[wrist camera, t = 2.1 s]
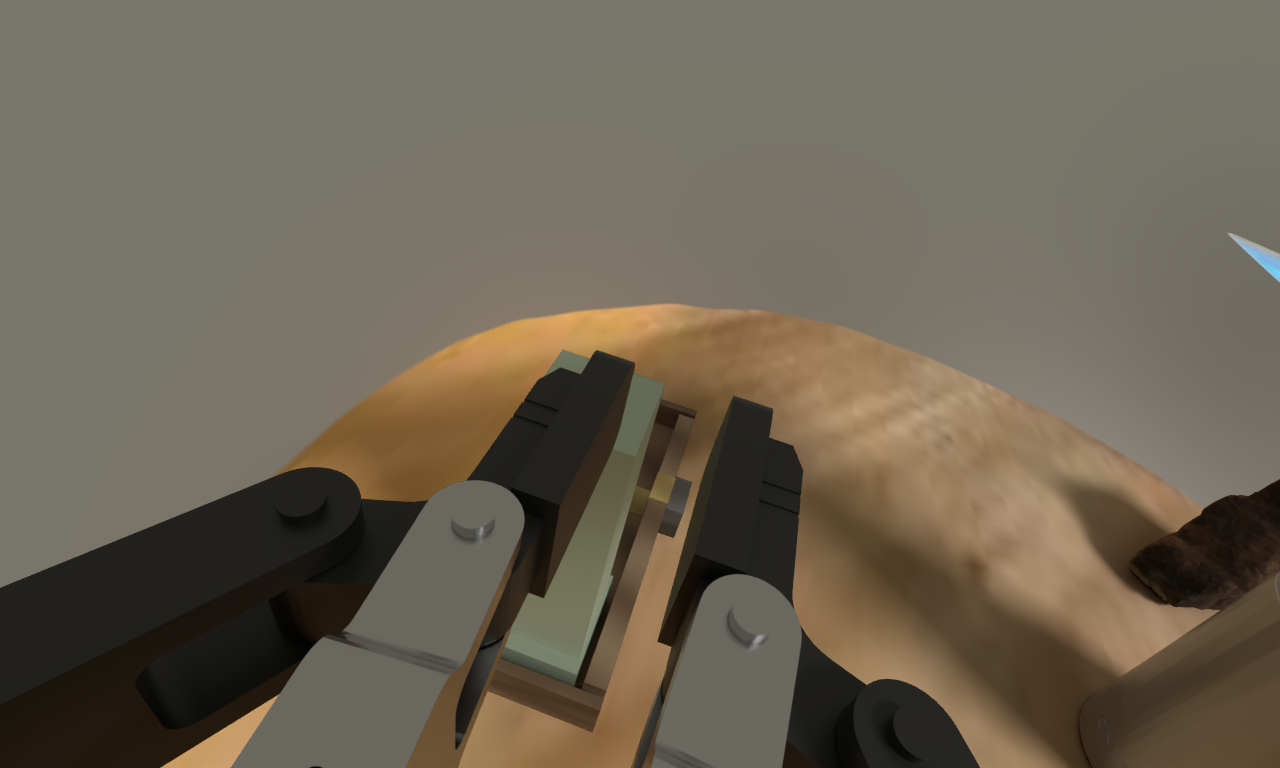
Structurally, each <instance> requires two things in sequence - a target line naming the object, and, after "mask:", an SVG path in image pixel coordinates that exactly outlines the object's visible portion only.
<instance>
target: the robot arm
mask: <svg viewBox="0 0 1280 768" xmlns="http://www.w3.org/2000/svg"><path fill="white" fill-rule="evenodd" d="M634 368H635V363H634V362H631V361H628V360H625V359H622V358H619V357H616V356H613V355H610V354H607V353H604V352H601V351H598V350H597V351H595V352H594V354H593V355H592V357H591V359H590V360H589V362H588V363H587V365H586V367H585V368H584V370H583V372H582V373H581V374H579V373H576V372H573V371H570V370H567V369H564V368H561V367H560V368H558V369H556V370H555V371H553V372H551V373H549V374H548V375H546V376H544V377H542V378H541V379H539V380H538V381H537V382H536V384H535V385H534V386H533V388H532V389H531V391H530V392H529V394H528V395H527V396H526V398H525V400H524V403H523V402H522V403H521V405H520V406H519V408H518V409H517V411H516V412H515V413H514V416H513V418H511V419H510V420H509V422H508V423H507V425H506V426H505V427H504V429H503V430H502V432H501V433H500V435H499V436H498V437H497V439H496V440H495V442H494V443H493V444H492V446H491V447H490V449H489V450H488V452H487V453H486V454H485V456H484V457H483V459H482V460H481V461H480V463H479V464H478V466H477V467H476V469H475V470H474V471H473V473H472V474H471V476H470V477H469V478H468V479H467V480H466V481H463V482H458V483H455V484H452V485H449V486H447V487H445V488H443V489H442V490H440V491H439V492H437V493H436V494H435V495H433V496H432V497H431V498H430V499H429V500H426V501H418V502H400V501H385V500H369V499H361V495H360V491H359V489H358V487H357V485H356V484H355V482H354V481H353V480H352V479H351V478H349V477H348V476H346V475H345V474H343V473H341V472H339V471H336V470H332V469H328V468H321V467H309V468H300V469H296V470H291V471H288V472H285V473H282V474H280V475H277V476H275V477H272V478H270V479H267V480H265V481H262V482H260V483H258V484H255V485H253V486H250V487H248V488H245V489H243V490H241V491H238V492H235V493H233V494H230V495H228V496H225V497H223V498H221V499H218V500H216V501H213V502H211V503H208V504H206V505H203V506H201V507H198V508H196V509H193V510H191V511H189V512H186V513H184V514H181V515H179V516H176V517H174V518H171V519H169V520H166V521H164V522H161V523H159V524H157V525H154V526H152V527H149V528H147V529H144V530H142V531H139V532H137V533H134V534H132V535H129V536H127V537H124V538H122V539H119V540H117V541H115V542H112V543H110V544H107V545H105V546H102V547H100V548H97V549H95V550H92V551H90V552H88V553H85V554H83V555H80V556H78V557H75V558H73V559H70V560H68V561H65V562H63V563H60V564H58V565H55V566H53V567H50V568H48V569H46V570H43V571H41V572H38V573H36V574H33V575H31V576H28V577H26V578H23V579H21V580H18V581H16V582H14V583H11V584H9V585H6V586H4V587H1V588H0V768H161V767H162V766H164V765H165V764H167V763H169V762H170V761H172V760H173V759H175V758H177V757H178V756H180V755H182V754H183V753H185V752H186V751H188V750H190V749H191V748H193V747H194V746H196V745H198V744H199V743H201V742H203V741H204V740H206V739H207V738H209V737H211V736H212V735H214V734H215V733H217V732H219V731H220V730H222V729H224V728H225V727H227V726H228V725H230V724H232V723H233V722H235V721H236V720H238V719H240V718H241V717H243V716H245V715H246V714H248V713H249V712H251V711H253V710H254V709H256V708H257V707H259V706H261V705H262V704H264V703H266V702H267V701H269V700H270V699H272V698H274V697H275V696H277V695H278V694H279V696H278V697H277V699H276V700H275V702H274V703H273V705H272V706H271V708H270V709H269V711H268V712H267V714H266V715H265V717H264V718H263V720H262V722H261V723H260V725H259V726H258V728H257V729H256V731H255V732H254V734H253V735H252V737H251V738H250V740H249V741H248V743H247V744H246V746H245V747H244V749H243V750H242V752H241V753H240V755H239V756H238V758H237V759H236V761H235V762H234V764H233V765H232V767H231V768H458V766H459V763H460V760H461V757H462V754H463V752H464V749H465V746H466V744H467V741H468V739H469V736H470V734H471V731H472V729H473V726H474V724H475V721H476V719H477V716H478V713H479V711H480V708H481V706H482V703H483V701H484V698H485V696H486V693H487V691H488V688H489V686H490V683H491V681H492V678H493V676H494V673H495V671H496V668H497V666H498V663H499V660H500V658H501V655H502V653H503V650H504V648H505V645H506V643H507V640H508V638H509V635H510V632H511V628H512V625H513V623H514V621H515V619H516V617H517V615H518V613H519V611H520V609H521V607H522V605H523V603H524V601H525V599H526V597H527V595H528V593H530V594H533V595H536V596H538V597H541V598H544V597H545V595H546V593H547V591H548V589H549V586H550V584H551V582H552V580H553V578H554V576H555V573H556V571H557V569H558V567H559V565H560V563H561V561H562V558H563V556H564V554H565V552H566V550H567V548H568V545H569V543H570V541H571V539H572V537H573V535H574V532H575V530H576V528H577V526H578V524H579V522H580V519H581V517H582V515H583V513H584V511H585V509H586V507H587V504H588V502H589V500H590V498H591V496H592V494H593V491H594V489H595V487H596V485H597V483H598V481H599V478H600V476H601V474H602V472H603V470H604V468H605V466H606V463H607V461H608V459H609V457H610V455H611V452H612V450H613V447H614V445H615V442H616V439H617V436H618V433H619V430H620V426H621V423H622V418H623V414H624V410H625V406H626V402H627V398H628V394H629V390H630V385H631V381H632V377H633V373H634ZM772 415H773V409H772V408H769V407H766V406H763V405H760V404H757V403H754V402H751V401H748V400H745V399H742V398H739V397H736V396H733V398H732V400H731V402H730V405H729V407H728V410H727V412H726V415H725V418H724V420H723V423H722V425H721V428H720V431H719V433H718V436H717V438H716V441H715V444H714V446H713V449H712V451H711V454H710V457H709V459H708V462H707V465H706V468H705V471H704V474H703V477H702V481H701V484H700V487H699V491H698V495H697V498H696V502H695V506H694V509H693V513H692V517H691V520H690V524H689V528H688V531H687V535H686V539H685V542H684V546H683V550H682V553H681V557H680V561H679V564H678V568H677V572H676V575H675V579H674V583H673V586H672V590H671V594H670V597H669V601H668V605H667V608H666V612H665V616H664V619H663V623H662V627H661V630H660V634H659V638H658V641H657V642H660V643H663V644H665V645H668V646H671V651H670V655H669V659H668V663H667V667H666V671H665V675H664V677H663V679H662V681H661V684H660V686H659V688H658V690H657V693H656V696H655V698H654V701H653V704H652V707H651V710H650V713H649V716H648V719H647V722H646V725H645V728H644V731H643V734H642V737H641V740H640V742H639V745H638V748H637V751H636V754H635V757H634V760H633V763H632V766H631V768H980V767H979V765H978V763H977V762H976V760H975V758H974V756H973V755H972V753H971V751H970V749H969V748H968V746H967V744H966V742H965V741H964V739H963V737H962V735H961V734H960V732H959V730H958V728H957V727H956V725H955V724H954V722H953V721H952V719H951V718H950V716H949V715H948V714H947V713H946V711H945V710H944V709H943V708H942V707H941V706H940V705H939V704H938V703H937V702H936V701H935V700H934V699H933V698H931V697H930V696H929V695H928V694H926V693H925V692H923V691H922V690H920V689H919V688H917V687H915V686H913V685H911V684H908V683H906V682H903V681H899V680H893V679H881V680H877V681H874V682H872V683H870V684H868V685H866V684H864V683H863V682H862V681H860V680H859V679H857V678H856V677H855V676H853V675H852V674H850V673H849V672H848V671H846V670H845V669H843V668H842V667H841V666H839V665H838V664H837V663H835V662H834V661H832V660H831V659H830V658H828V657H827V656H826V655H825V654H823V653H822V652H821V651H820V650H819V649H818V648H817V647H816V646H815V645H814V644H813V643H812V641H811V640H810V639H809V638H808V636H807V635H806V633H805V632H804V630H803V629H802V627H801V625H800V623H799V619H798V617H797V615H796V612H795V610H794V606H793V600H792V590H793V579H794V567H795V556H796V544H797V533H798V521H799V518H798V515H799V510H800V495H801V487H802V475H803V469H802V467H801V464H800V462H799V459H798V457H797V454H796V452H795V449H794V447H793V446H792V445H789V444H786V443H783V442H780V441H777V440H774V439H771V438H769V434H770V428H771V422H772ZM1080 734H1081V739H1082V743H1083V747H1084V750H1085V752H1086V755H1087V757H1088V759H1089V762H1090V764H1091V766H1092V768H1280V571H1279V572H1277V573H1276V574H1274V575H1273V576H1271V577H1270V578H1268V579H1267V580H1265V581H1264V582H1262V583H1261V584H1259V585H1258V586H1256V587H1255V588H1253V589H1252V590H1250V591H1249V592H1247V593H1246V594H1244V595H1243V596H1242V597H1240V598H1239V599H1237V600H1236V601H1234V602H1233V603H1231V604H1230V605H1228V606H1227V607H1225V608H1224V609H1222V610H1221V611H1219V612H1218V613H1216V614H1215V615H1213V616H1212V617H1210V618H1209V619H1207V620H1206V621H1204V622H1203V623H1201V624H1200V625H1198V626H1197V627H1195V628H1194V629H1192V630H1191V631H1189V632H1188V633H1186V634H1185V635H1183V636H1182V637H1180V638H1179V639H1177V640H1176V641H1174V642H1173V643H1171V644H1170V645H1168V646H1167V647H1165V648H1164V649H1162V650H1161V651H1159V652H1158V653H1156V654H1155V655H1153V656H1152V657H1150V658H1149V659H1147V660H1146V661H1144V662H1143V663H1141V664H1140V665H1138V666H1137V667H1135V668H1134V669H1132V670H1131V671H1129V672H1128V673H1126V674H1125V675H1123V676H1122V677H1120V678H1119V679H1117V680H1116V681H1114V682H1113V683H1111V684H1110V685H1108V686H1107V687H1105V688H1104V689H1102V690H1101V691H1099V692H1098V693H1096V694H1095V695H1093V696H1092V697H1090V698H1089V699H1088V700H1087V702H1086V703H1085V704H1084V705H1083V707H1082V711H1081V714H1080Z"/></svg>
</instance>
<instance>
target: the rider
mask: <svg viewBox="0 0 1280 768" xmlns="http://www.w3.org/2000/svg"><path fill="white" fill-rule="evenodd" d="M589 360H590V359H589V358H586V357H583V356H580V355H577V354H574V353H571V352H568V351H565V350H562V352H561V353H560V355H559V356H558V357H557V359H556V360H555V362H554V363H553V365H552V366H551V367H550V369H549V370H548V372H547V373H546V375H548V374H549V373H551V372H553V371H555V370H556V369H558V368H560V367H561V368H564V369H567V370H570V371H573V372H576V373H579V374H581V373H582V372H583V370H584V368H585V367H586V365H587V363H588V362H589ZM546 375H545V376H546ZM664 387H665V384H664V383H661V382H658V381H655V380H652V379H649V378H646V377H643V376H640V375H637V374H634V373H633V377H632V381H631V385H630V390H629V394H628V398H627V402H626V406H625V410H624V414H623V418H622V423H621V426H620V430H619V433H618V436H617V439H616V442H615V445H614V447H613V450H612V452H611V455H610V457H609V459H608V461H607V463H606V466H605V468H604V470H603V472H602V474H601V476H600V478H599V481H598V483H597V485H596V487H595V489H594V491H593V494H592V496H591V498H590V500H589V502H588V504H587V507H586V509H585V511H584V513H583V515H582V517H581V519H580V522H579V524H578V526H577V528H576V530H575V532H574V535H573V537H572V539H571V541H570V543H569V545H568V548H567V550H566V552H565V554H564V556H563V558H562V561H561V563H560V565H559V567H558V569H557V571H556V573H555V576H554V578H553V580H552V582H551V584H550V586H549V589H548V591H547V593H546V595H545V597H544V598H541V597H538V596H536V595H533V594H530V593H528V595H527V597H526V599H525V601H524V603H523V605H522V607H521V609H520V611H519V613H518V615H517V617H516V619H515V621H514V623H513V625H512V628H511V632H510V635H509V638H508V640H507V643H506V645H505V648H504V650H503V653H502V655H501V659H504V660H506V661H509V662H511V663H514V664H517V665H519V666H522V667H524V668H527V669H529V670H532V671H535V672H537V673H540V674H542V675H545V676H547V677H550V678H553V679H555V680H558V681H560V682H563V683H565V684H568V685H571V686H573V687H574V686H575V683H576V681H577V678H578V675H579V672H580V670H581V667H582V664H583V662H584V659H585V656H586V653H587V651H588V648H589V645H590V643H591V640H592V637H593V634H594V632H595V629H596V626H597V624H598V621H599V618H600V615H601V613H602V610H603V607H604V605H605V602H606V599H607V596H608V593H609V589H610V586H611V583H612V579H613V576H612V575H610V574H611V570H612V567H613V563H614V560H615V556H616V553H617V549H618V546H619V542H620V539H621V536H622V532H623V529H624V525H625V522H626V518H627V515H628V511H629V508H630V504H631V501H632V497H633V494H634V490H635V487H636V484H637V480H638V477H639V473H640V470H641V466H642V463H643V459H644V456H645V452H646V449H647V445H648V442H649V439H650V435H651V432H652V428H653V425H654V421H655V418H656V414H657V411H658V407H659V404H660V400H661V397H662V393H663V390H664Z"/></svg>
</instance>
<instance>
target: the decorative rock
mask: <svg viewBox="0 0 1280 768" xmlns="http://www.w3.org/2000/svg"><path fill="white" fill-rule="evenodd" d="M1129 567H1130V569H1131V571H1132V572H1133V573H1134V574H1135V575H1137V576H1138V577H1139V578H1140V579H1141V580H1142V581H1143V582H1144V583H1145V584H1146V585H1148V586H1149V587H1152V590H1154V591H1155V592H1156V593H1157V594H1158V596H1161V597H1162V599H1163V600H1165V601H1169V604H1170V605H1172V606H1174V607H1179V606H1180V607H1184V606H1190V607H1195V608H1198V609H1201V610H1203V609H1213V610H1214V609H1216V610H1222V609H1224V608H1225V607H1227V606H1228V605H1230V604H1231V603H1233V602H1234V601H1236V600H1237V599H1239V598H1240V597H1242V596H1243V595H1244V594H1246V593H1247V592H1249V591H1250V590H1252V589H1253V588H1255V587H1256V586H1258V585H1259V584H1261V583H1262V582H1264V581H1265V580H1267V579H1268V578H1270V577H1271V576H1273V575H1274V574H1276V573H1277V572H1279V571H1280V479H1279V480H1278V481H1276V482H1274V483H1272V484H1270V485H1269V486H1267V487H1265V488H1263V489H1262V490H1260V491H1258V492H1254V494H1252V495H1250V496H1244V495H1239V496H1236V495H1229V496H1227V497H1224V498H1222V499H1220V500H1218V501H1216V502H1214V503H1212V504H1210V505H1209V506H1207V507H1206V508H1204V509H1203V511H1202V513H1201V515H1199V516H1198V517H1196V518H1194V519H1192V520H1191V521H1190V522H1188V523H1186V524H1185V525H1184V526H1182V527H1181V528H1180V529H1179V530H1178V531H1177V532H1175V533H1171V534H1169V535H1167V536H1166V537H1164V538H1162V539H1159V540H1158V541H1156V542H1153V543H1151V544H1149V545H1147V546H1146V547H1144V548H1143V549H1142V550H1140V551H1139V552H1138V553H1137V554H1136V555H1135V556H1134V557H1133V558H1132V559H1131V560H1130V562H1129Z"/></svg>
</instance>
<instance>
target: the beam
mask: <svg viewBox="0 0 1280 768" xmlns="http://www.w3.org/2000/svg"><path fill="white" fill-rule="evenodd" d="M696 412H697V411H694V410H691V409H688V408H685V407H682V406H679V405H676V404H673V403H671V402H668V401H665V400H662V399H661V400H660V404H659V407H658V411H657V414H656V418H655V421H654V425H653V428H652V432H651V435H650V439H649V442H648V445H647V449H646V452H645V456H644V459H643V463H642V466H641V470H640V473H639V477H638V480H637V484H636V487H635V490H634V494H633V497H632V501H631V504H630V508H629V511H628V515H627V518H626V522H625V525H624V529H623V532H622V536H621V539H620V542H619V546H618V549H617V553H616V556H615V560H614V563H613V567H612V570H611V574H610V575H612V576H613V579H612V583H611V586H610V589H609V593H608V596H607V599H606V602H605V605H604V607H603V610H602V613H601V615H600V618H599V621H598V624H597V626H596V629H595V632H594V634H593V637H592V640H591V643H590V645H589V648H588V651H587V653H586V656H585V659H584V662H583V664H582V667H581V670H580V672H579V675H578V678H577V681H576V683H575V686H574V687H573V686H571V685H568V684H565V683H563V682H560V681H558V680H555V679H553V678H550V677H547V676H545V675H542V674H540V673H537V672H535V671H532V670H529V669H527V668H524V667H522V666H519V665H517V664H514V663H511V662H509V661H506V660H504V659H501V658H500V660H499V663H498V666H497V668H496V671H495V673H494V676H493V678H492V681H491V683H490V686H489V688H488V691H489V692H492V693H494V694H497V695H500V696H502V697H505V698H507V699H510V700H512V701H515V702H517V703H520V704H522V705H525V706H527V707H530V708H532V709H535V710H538V711H540V712H543V713H545V714H548V715H550V716H553V717H555V718H558V719H560V720H563V721H565V722H568V723H570V724H573V725H575V726H578V727H581V728H583V729H586V730H588V731H591V732H593V729H594V726H595V723H596V721H597V718H598V715H599V712H600V709H601V706H602V703H603V700H604V696H605V693H606V691H607V688H608V684H609V681H610V678H611V675H612V672H613V669H614V666H615V663H616V660H617V657H618V654H619V650H620V647H621V644H622V641H623V638H624V635H625V632H626V629H627V626H628V623H629V619H630V616H631V613H632V610H633V607H634V604H635V601H636V598H637V595H638V592H639V589H640V585H641V582H642V579H643V576H644V573H645V570H646V567H647V564H648V561H649V558H650V554H651V551H652V548H653V545H654V542H655V539H656V536H657V533H658V532H659V533H662V534H665V535H667V536H670V537H673V538H674V536H675V534H676V531H677V528H678V526H679V523H680V520H681V518H682V515H683V512H684V509H685V505H686V502H687V498H688V495H689V491H690V488H691V484H692V482H690V481H687V480H684V479H682V478H679V477H676V474H677V471H678V468H679V465H680V462H681V458H682V455H683V452H684V449H685V446H686V443H687V440H688V437H689V434H690V431H691V428H692V424H693V421H694V418H695V415H696Z"/></svg>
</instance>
